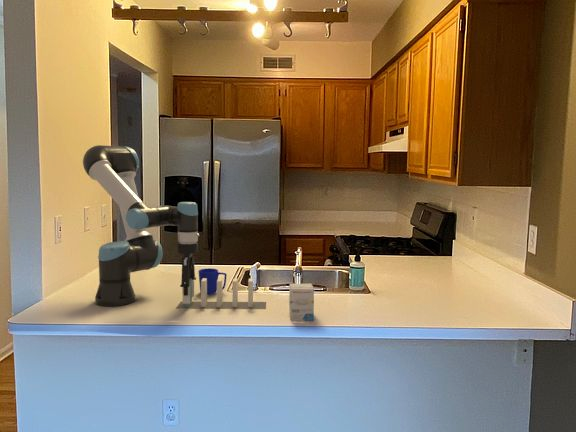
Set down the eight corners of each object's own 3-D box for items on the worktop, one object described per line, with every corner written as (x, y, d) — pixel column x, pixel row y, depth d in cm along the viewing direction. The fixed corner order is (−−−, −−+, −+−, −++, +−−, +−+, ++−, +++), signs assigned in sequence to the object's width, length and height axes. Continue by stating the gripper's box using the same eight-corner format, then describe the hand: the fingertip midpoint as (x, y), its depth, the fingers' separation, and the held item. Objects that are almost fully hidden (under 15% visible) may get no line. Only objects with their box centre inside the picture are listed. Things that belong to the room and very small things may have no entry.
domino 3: (232, 306, 198) (232, 281, 197) (233, 303, 203) (233, 278, 202) (236, 307, 198) (236, 281, 197) (237, 303, 203) (237, 278, 202)
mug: (223, 297, 214) (223, 273, 213) (195, 295, 216) (195, 271, 215) (229, 292, 222) (229, 269, 221) (202, 290, 224) (202, 267, 223)
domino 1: (201, 306, 198) (200, 281, 197) (203, 303, 203) (202, 278, 202) (205, 306, 198) (205, 281, 197) (207, 303, 203) (206, 278, 202)
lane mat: (175, 309, 195) (175, 308, 195) (180, 302, 205) (180, 301, 205) (265, 309, 196) (265, 308, 196) (266, 302, 206) (266, 301, 206)
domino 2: (216, 306, 198) (216, 281, 197) (218, 303, 203) (218, 278, 202) (221, 306, 198) (220, 281, 197) (222, 303, 203) (222, 278, 202)
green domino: (185, 306, 198) (185, 281, 197) (187, 303, 203) (187, 278, 202) (189, 306, 198) (189, 281, 197) (191, 303, 203) (191, 278, 202)
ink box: (311, 313, 192) (312, 283, 190) (313, 320, 183) (314, 288, 182) (288, 313, 191) (289, 283, 190) (289, 320, 183) (290, 288, 182)
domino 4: (248, 307, 198) (248, 281, 197) (248, 303, 203) (248, 278, 202) (252, 307, 198) (252, 281, 197) (252, 303, 203) (253, 278, 202)
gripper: (193, 247, 187) (193, 307, 189) (202, 238, 209) (202, 292, 211) (172, 247, 187) (173, 307, 189) (183, 238, 208) (183, 292, 211)
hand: (188, 299), depth 200 cm, fingers open, 9 cm apart
